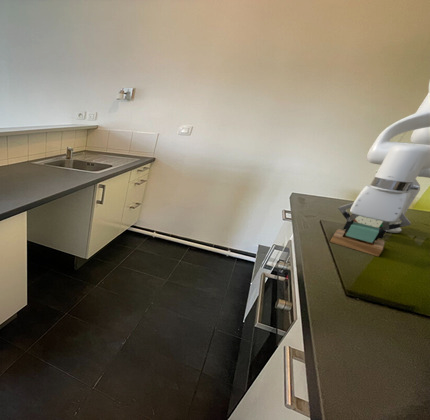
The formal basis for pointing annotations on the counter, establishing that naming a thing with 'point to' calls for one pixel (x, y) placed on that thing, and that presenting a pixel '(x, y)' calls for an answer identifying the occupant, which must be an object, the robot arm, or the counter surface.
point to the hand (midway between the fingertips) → (360, 235)
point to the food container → (369, 221)
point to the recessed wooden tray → (357, 243)
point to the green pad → (363, 232)
